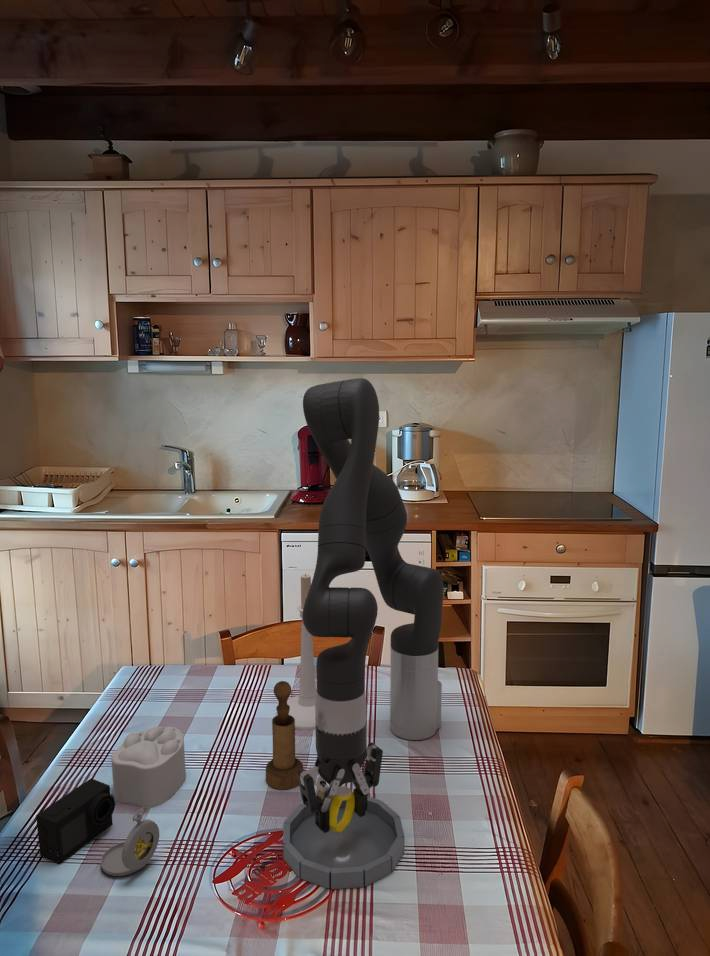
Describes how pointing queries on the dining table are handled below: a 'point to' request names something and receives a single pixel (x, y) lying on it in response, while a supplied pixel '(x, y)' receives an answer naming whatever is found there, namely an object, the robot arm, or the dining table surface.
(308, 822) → the round dish
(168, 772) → the lumpy-topped squat cylinder
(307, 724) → the candlestick
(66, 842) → the digital camera
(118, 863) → the pocket watch
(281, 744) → the mortar and pestle
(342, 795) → the watch
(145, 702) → the dining table surface
